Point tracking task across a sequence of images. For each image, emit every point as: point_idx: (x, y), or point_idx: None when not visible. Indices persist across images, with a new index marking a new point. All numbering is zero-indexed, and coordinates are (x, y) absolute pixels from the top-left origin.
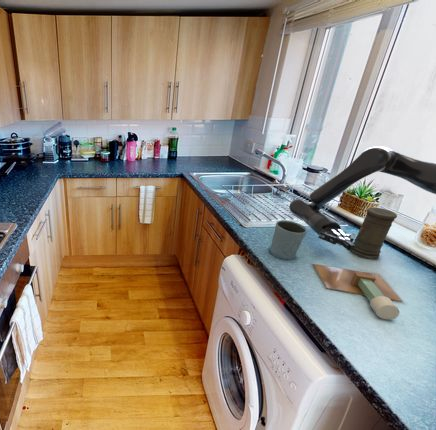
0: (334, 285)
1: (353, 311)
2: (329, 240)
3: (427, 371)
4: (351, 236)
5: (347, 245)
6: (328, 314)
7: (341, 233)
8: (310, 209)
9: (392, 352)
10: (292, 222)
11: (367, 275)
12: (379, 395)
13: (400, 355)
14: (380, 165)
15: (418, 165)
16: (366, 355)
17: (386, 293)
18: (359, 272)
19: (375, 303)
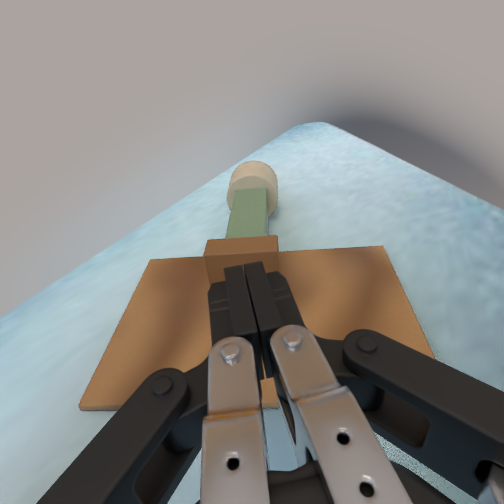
0: (354, 260)
1: (321, 203)
2: (422, 422)
3: (254, 154)
4: (115, 466)
5: (280, 277)
6: (385, 183)
7: (266, 473)
8: None
9: (288, 161)
10: None
11: (231, 246)
12: (337, 127)
13: (278, 160)
14: None
15: None
16: (333, 149)
17: (175, 276)
18: None
19: (275, 182)
